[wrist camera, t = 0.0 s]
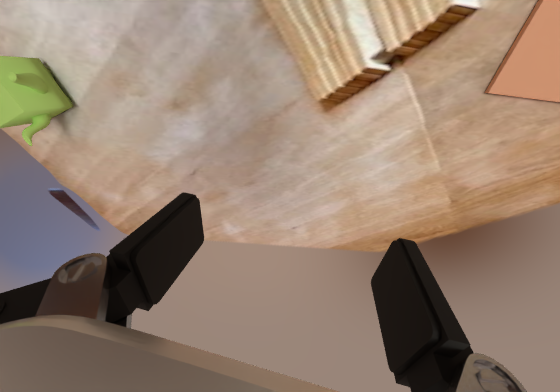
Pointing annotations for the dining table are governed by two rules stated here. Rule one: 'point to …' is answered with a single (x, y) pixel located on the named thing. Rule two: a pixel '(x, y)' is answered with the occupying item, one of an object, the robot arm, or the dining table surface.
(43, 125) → the kettle
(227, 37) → the dining table surface
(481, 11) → the dining table surface
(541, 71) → the terracotta tile
